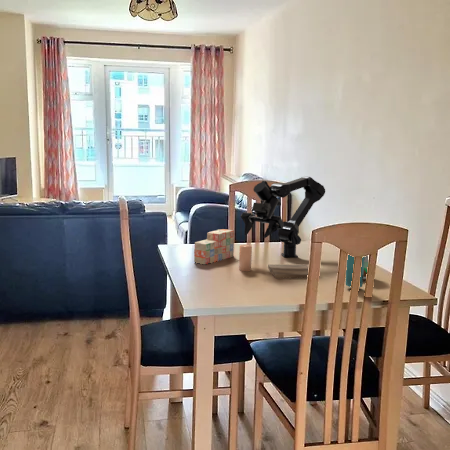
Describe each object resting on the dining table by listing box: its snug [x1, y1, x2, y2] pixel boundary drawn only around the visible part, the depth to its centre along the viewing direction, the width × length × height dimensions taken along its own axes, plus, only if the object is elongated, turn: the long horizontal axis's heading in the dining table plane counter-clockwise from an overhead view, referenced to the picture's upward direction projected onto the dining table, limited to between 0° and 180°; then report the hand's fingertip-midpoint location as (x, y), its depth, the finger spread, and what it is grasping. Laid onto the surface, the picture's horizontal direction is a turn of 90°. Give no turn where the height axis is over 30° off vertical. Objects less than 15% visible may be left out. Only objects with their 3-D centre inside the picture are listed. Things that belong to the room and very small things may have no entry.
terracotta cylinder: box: [238, 244, 253, 272], centre depth 217 cm, size 5×5×10 cm
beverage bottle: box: [345, 255, 365, 288], centre depth 191 cm, size 6×7×20 cm
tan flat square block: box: [267, 263, 309, 280], centre depth 214 cm, size 16×16×2 cm
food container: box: [363, 256, 368, 282], centre depth 207 cm, size 12×6×10 cm, turn 168°
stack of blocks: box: [193, 228, 235, 265], centre depth 233 cm, size 21×6×12 cm, turn 145°
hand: (254, 236), depth 221 cm, fingers open, 9 cm apart
